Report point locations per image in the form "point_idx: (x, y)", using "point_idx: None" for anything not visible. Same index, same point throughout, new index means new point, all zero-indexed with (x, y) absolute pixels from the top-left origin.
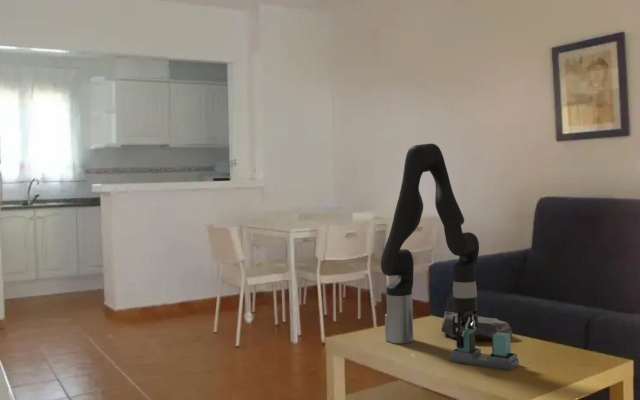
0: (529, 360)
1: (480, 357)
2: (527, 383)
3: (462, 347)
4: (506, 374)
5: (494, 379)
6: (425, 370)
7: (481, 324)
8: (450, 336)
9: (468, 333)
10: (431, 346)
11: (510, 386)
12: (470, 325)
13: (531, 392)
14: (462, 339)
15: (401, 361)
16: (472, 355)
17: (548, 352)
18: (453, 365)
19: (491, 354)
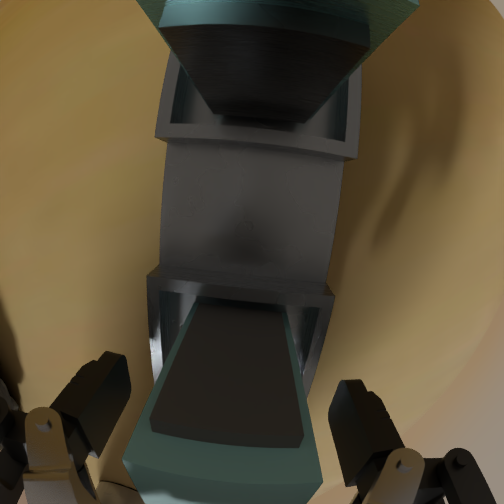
0: (103, 22)
1: (275, 232)
2: (450, 3)
3: (360, 383)
4: (405, 54)
5: (481, 108)
6: (432, 397)
7: None
8: (17, 409)
9: (316, 465)
10: (117, 455)
11: (500, 60)
12: (89, 499)
13: (497, 17)
14: (383, 432)
15: (337, 477)
16: (319, 289)
17: (3, 46)
18: (354, 351)
19: (289, 132)
